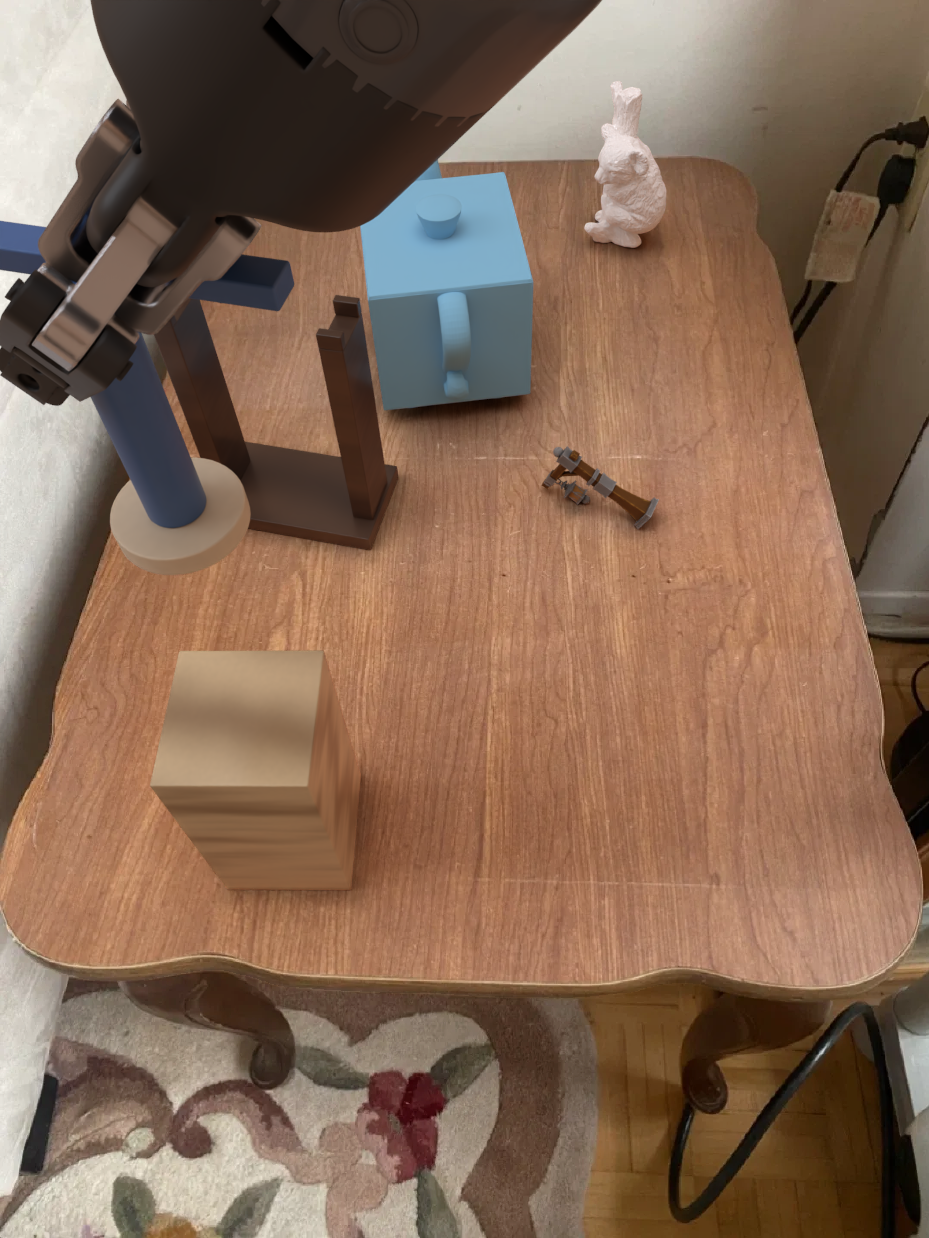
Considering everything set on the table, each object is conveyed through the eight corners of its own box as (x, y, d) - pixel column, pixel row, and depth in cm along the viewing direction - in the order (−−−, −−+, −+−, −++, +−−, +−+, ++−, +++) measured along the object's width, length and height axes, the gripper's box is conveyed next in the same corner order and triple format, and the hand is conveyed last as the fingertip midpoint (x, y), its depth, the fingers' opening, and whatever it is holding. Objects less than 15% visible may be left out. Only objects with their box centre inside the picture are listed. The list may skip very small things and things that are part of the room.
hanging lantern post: (537, 467, 69) (564, 433, 65) (629, 527, 70) (660, 497, 66) (527, 484, 68) (554, 451, 64) (620, 545, 69) (652, 516, 65)
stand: (370, 550, 66) (334, 358, 52) (205, 521, 68) (128, 329, 54) (398, 477, 70) (371, 279, 56) (241, 451, 72) (177, 254, 58)
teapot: (535, 436, 72) (541, 280, 60) (388, 453, 71) (366, 299, 60) (494, 259, 84) (493, 101, 73) (369, 272, 84) (347, 116, 72)
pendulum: (323, 609, 34) (245, 335, 24) (-1, 542, 36) (-196, 266, 26) (368, 504, 36) (315, 218, 26) (64, 448, 39) (-91, 165, 29)
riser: (351, 890, 53) (308, 786, 41) (226, 889, 53) (148, 785, 42) (361, 774, 57) (324, 649, 45) (245, 774, 57) (178, 650, 46)
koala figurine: (573, 211, 88) (582, 77, 78) (646, 204, 88) (664, 70, 78) (589, 268, 83) (601, 133, 73) (666, 261, 83) (688, 125, 73)
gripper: (341, -380, 20) (47, 140, 32) (-2, -111, 12) (-213, 432, 24) (580, -66, 23) (232, 294, 35) (426, 290, 16) (54, 590, 28)
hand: (51, 349), depth 30 cm, fingers closed on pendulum
